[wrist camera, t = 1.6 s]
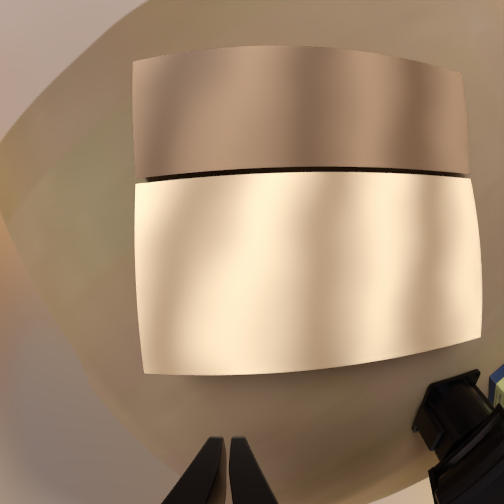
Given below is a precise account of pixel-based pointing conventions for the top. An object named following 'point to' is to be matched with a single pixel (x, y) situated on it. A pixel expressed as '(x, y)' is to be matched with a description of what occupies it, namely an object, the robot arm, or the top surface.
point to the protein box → (497, 387)
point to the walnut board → (295, 111)
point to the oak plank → (303, 270)
